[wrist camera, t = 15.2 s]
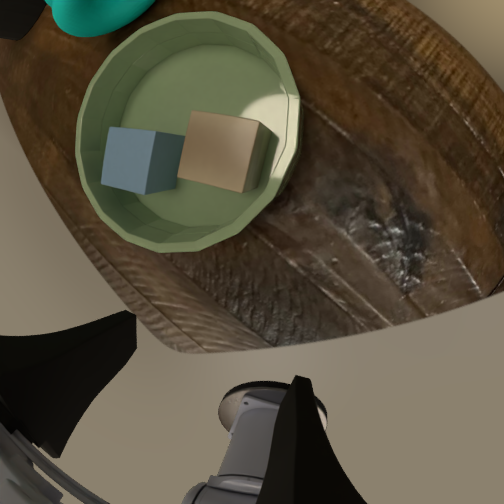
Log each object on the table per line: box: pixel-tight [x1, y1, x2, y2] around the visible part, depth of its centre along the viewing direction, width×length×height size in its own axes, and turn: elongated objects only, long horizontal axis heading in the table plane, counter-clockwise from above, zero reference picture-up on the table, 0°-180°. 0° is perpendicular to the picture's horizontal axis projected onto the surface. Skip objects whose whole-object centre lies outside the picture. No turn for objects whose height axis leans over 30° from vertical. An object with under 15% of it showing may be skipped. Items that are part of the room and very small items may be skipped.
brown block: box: [177, 110, 272, 193], centre depth 15 cm, size 4×4×4 cm
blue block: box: [101, 127, 185, 195], centre depth 17 cm, size 4×4×4 cm
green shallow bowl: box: [75, 11, 304, 253], centre depth 16 cm, size 15×15×5 cm
